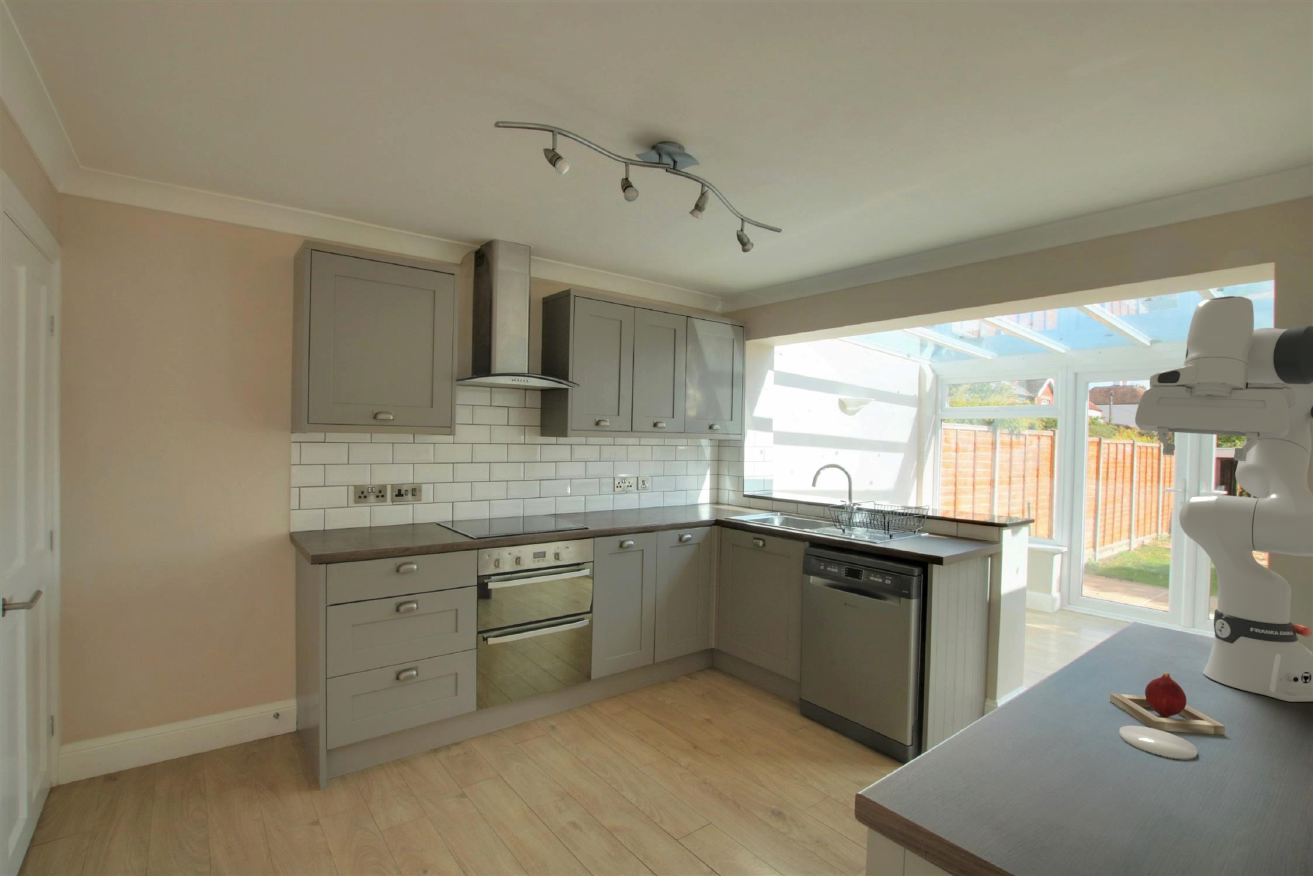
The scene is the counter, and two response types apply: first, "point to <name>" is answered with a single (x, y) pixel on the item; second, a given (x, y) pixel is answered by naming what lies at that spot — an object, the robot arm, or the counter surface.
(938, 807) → the counter surface
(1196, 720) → the frame
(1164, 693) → the onion
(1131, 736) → the white domed disc
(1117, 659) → the counter surface
